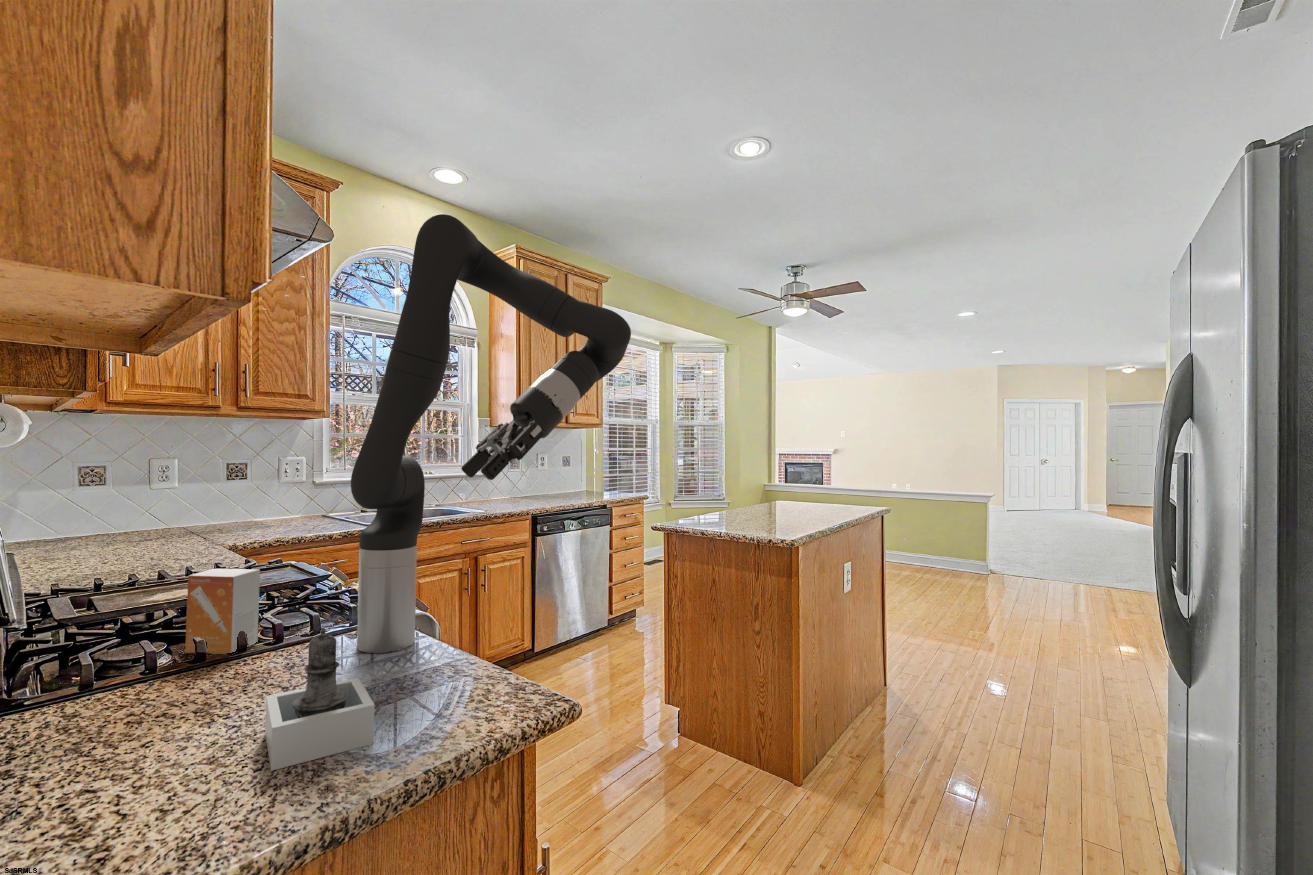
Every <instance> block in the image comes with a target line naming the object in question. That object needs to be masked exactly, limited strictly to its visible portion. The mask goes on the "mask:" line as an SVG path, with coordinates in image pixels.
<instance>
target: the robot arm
mask: <svg viewBox="0 0 1313 875" xmlns="http://www.w3.org/2000/svg"><path fill="white" fill-rule="evenodd" d="M413 249H414V250H413V257H412V263H411V270H410V275H409V276H410V277H409V283H408V288H407V293H406V297H405V300H404V303H403V307H402V310H401V314H400V316H399V321H398V324H397V329H396V332H395V336H394V338H393V342H392V346H391V349H390V352H389V356H388V360H387V363H386V368H385V372H384V377H383V381H382V384H381V387H380V392H379V395H378V397H377V401H376V405H375V408H374V412H373V415H372V418H371V421H370V424H369V427H368V430H367V432H366V435H365V437H364V439H363V442H362V445H361V447H360V449H359V453H358V455H357V458H356V460H355V463H354V466H353V468H352V473H351V477H350V490H351V492H350V493H351V494H352V495H351V496H352V498H353V499H354V500H355V503H356V504H357V505H358V506H360V507H362V508H364V509H366V510H376V514H375V517H374V518H373V520H372V522H371V523H370V524H369V525H367V526H366V527H365V528H364V529H362V531H361V532H360V534H359V545H358V546H359V547H358V549H359V550H358V586H357V588H358V590H357V594H358V595H357V625H356V626H357V627H356V649H357V650H358V651H360V652H362V653H367V654H368V653H369V654H382V653H384V654H385V653H391V652H390V651H392V652H396V650H397V651H399V649H400V650H404V649H407V648H409V647H410V645H411V646H413V645H414V644H415V638H416V637H415V636H416V610H417V609H416V606H417V605H416V600H417V597H416V596H417V564H418V563H417V561H418V560H417V558H418V557H417V554H418V553H417V550H418V545H417V544H418V536H419V534H420V531H421V528H422V525H423V518H424V517H423V516H424V507H425V506H424V504H425V490H426V489H425V487H426V486H425V484H426V483H425V476H424V472H423V468H422V466H421V465H420V463H419V462H418V461H417V460H416V459H414V458H413V457H411V456H409V455H404V453H405V449H406V447H407V446H406V445H407V443H408V440H409V438H410V435H411V433H412V431H413V429H414V427H415V426H416V424H417V423H418V422H419V420H420V419H421V418H422V416H424V414H425V413H426V411H427V410H428V408H429V407H430V406H431V405H432V403H433V402H434V400H435V399H436V397H437V396H438V394H439V392H440V389H441V387H442V383H443V380H444V377H445V372H446V369H447V364H448V362H449V357H450V351H451V350H450V348H451V347H450V346H451V334H450V333H451V330H450V329H451V328H450V327H451V325H450V322H451V321H450V314H451V313H450V310H451V303H452V297H453V294H454V291H455V288H456V285H457V284H456V283H457V281H459V282H463V283H465V284H467V285H471V286H474V287H476V288H478V289H481V290H483V291H485V292H487V293H489V294H491V295H493V296H494V297H496V298H498V299H500V300H501V301H503V302H504V303H506V304H508V305H509V306H510V307H512V308H514V309H515V310H517V311H518V312H520V313H521V314H523V316H526V317H528V318H529V319H531V320H532V321H534V322H535V323H537V324H539V325H541V326H542V327H544V328H545V329H547V330H549V331H551V332H552V333H555V334H556V335H558V336H560V337H562V338H570V337H571V336H573V335H574V334H577V335H581V336H584V337H585V338H587V340H586V342H585V343H584V344H583V346H581V347H580V348H579V349H578V350H570V351H569V352H567V353H566V354H564V355H563V356H562V357H561V358H560V359H558V361H556V363H555V364H554V365H553V366H552V367H550V368H549V369H548V370H547V371H546V372H545V373H543V374H542V375H540V376H539V377H538V378H537V379H536V380H535V381H534V382H532V384H531V385H529V386H528V388H526V389H525V390H524V391H523V392H522V393H521V394H520V395H519V396H518V397H517V398H516V399H515V400H514V401H513V402H512V403H511V404H510V408H509V410H510V413H511V415H512V421H510V422H507V421H506V422H505V423H504V424H503V423H502V422H501V423H499V424H497V426H495V428H494V429H493V430H492V431H491V432H490V433H489V434H488V435H487V436H485V437H484V439H482V440H481V441H480V442H479V443H477V444H476V446H475V449H476V452H475V454H474V455H472V456H471V457H470V458H469V459H468V460H467V461H466V462H465V463H464V464H463V465H462V466H461V471H462V473H464V474H465V475H466V476H467V477H468V478H474V476H475V475H476V474H478V473H479V472H481V474H482V475H483V476H484V478H486V479H487V480H489V481H493V480H495V478H496V477H497V476H498V475H499V474H500V473H501V472H502V471H503V470H504V469H505V468H506V467H507V466H508V465H509V464H512V463H514V462H515V461H516V460H517V461H520V460H522V459H523V458H524V457H525V456H526V455H527V454H528V453H529V451H530V450H532V448H533V447H534V446H535V445H536V444H537V443H538V442H539V441H540V439H545V438H547V437H548V436H549V435H550V434H551V432H553V430H554V429H555V428H556V427H558V425H559V424H560V423H562V421H563V420H564V419H565V418H566V417H567V416H568V415H569V414H570V413H571V411H573V409H574V408H575V406H576V405H577V404H578V402H579V401H580V400H581V399H582V398H583V397H584V396H585V395H586V393H588V392H589V391H590V390H591V388H593V386H594V385H595V383H597V382H598V381H600V380H601V379H603V378H604V377H606V376H607V375H608V374H609V373H610V372H612V371H613V370H614V369H615V368H616V367H618V365H619V364H620V363H621V361H622V360H623V358H624V357H625V354H626V352H627V349H628V345H629V344H630V341H631V336H632V331H631V327H630V324H629V323H628V321H627V320H626V319H625V318H624V317H622V316H621V315H620V314H619V313H617V312H615V311H614V310H612V309H608V308H607V307H606V308H605V307H602V306H600V305H597V304H596V305H595V304H594V303H591V302H590V303H589V302H586V301H582V300H578V299H577V298H575V297H574V296H572V295H570V294H569V293H567V292H565V291H564V290H562V289H560V288H558V287H557V286H555V285H553V284H551V283H549V282H547V281H545V280H544V279H541V278H540V277H536V275H533V274H530V273H527V272H526V271H523V270H521V269H519V268H517V267H515V266H513V265H512V264H510V263H508V262H507V261H506V260H504V259H502V258H500V256H498V255H496V253H494V252H493V251H492V250H491V249H489V248H488V247H487V246H485V244H483V243H482V242H481V241H480V240H479V239H478V237H477V236H476V234H474V232H473V231H472V230H471V229H470V228H468V226H467V225H465V223H463V222H462V221H461V220H460V219H458V218H457V217H455V216H453V215H451V214H447V213H437V214H435V215H433V216H430V217H429V218H428V219H426V220H425V221H424V222H423V223H422V225H421V227H420V228H419V230H418V233H417V235H416V239H415V243H414V248H413ZM488 448H490V449H489V450H488ZM408 646H409V647H408ZM403 648H404V649H403Z"/></svg>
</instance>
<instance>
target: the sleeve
mask: <svg viewBox="0 0 1313 875" xmlns="http://www.w3.org/2000/svg"><path fill="white" fill-rule="evenodd" d="M336 684H337V687H338V689H342V690H345V691H347V692H348V693H349V697H348V699H347V700H346V705H345V707H344V708H343V709H338V710H334V711H329V712H325V713H320V714H316V715H311V716H307V717H303V718H297V716H296V713H295V709H294V708H293V707H292V703H293V701H294V700H295V699H297V698H298V697H300V696H302V695H304V694H305V691H306V688H307V687H304V688H300V689H296V690H295V689H294V690H290V691H285V692H279V693H275V694H270V695H266V696H265V698H266V699H265V720H264V721H265V723H264V724H265V728H264V730H265V732H264V735H265V736H264V737H265V742H266V749H267V754H268V761H269V767H270V771H271V772H273V771H275V770H276V771H277V770H281V769H283V768H287V767H291V766H294V765H298V764H302V763H303V764H304V763H306V762H309V761H314V760H318V759H320V758H324V757H328V756H332V755H337V754H340V753H344V752H347V751H352V750H355V749H358V748H359V749H360V748H362V747H363V748H364V747H367V746H370V745H374V744H375V742H374V738H375V735H374V734H375V703H374V700H372V698H371V696H370V695H369V693H368V692H367V690H366V688H365V686H364V685H363V683H362V682H361V680H360V678H359V677H354V678H349V679H345V680H340V681H336Z"/></svg>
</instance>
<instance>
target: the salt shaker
mask: <svg viewBox="0 0 1313 875" xmlns="http://www.w3.org/2000/svg"><path fill="white" fill-rule="evenodd" d="M326 631H327V630H326V628H325V627H323V626H322V627H321V629H320V630H319V632H320V634H318V635H316V636H314V637H313V638H311V640H309V643H308V660H307V661H308V662H307V663H308V665H306V666H305V667H304V670H303V671H305V673H306V676H307V677H306V687H305V688H306V691H305V694H304V695H302V696H300V697H298V698H297V699H295V700H294V701H293V703H292V707H293V708H294V709H295V713H296V716H297V718H303V717H307V716H311V715H316V714H320V713H325V712H329V711H334V710H338V709H343V708H344V707H345V705H346V700H347V699H348V697H349V693H348V692H347V691H345V690H342V689H338V687H337V684H336V682H337V668H338V667H339V666H340V663H339V662H338V661H337V659H336V658H337V639H336V637H334V636H333V635H331V634H329V633H326Z"/></svg>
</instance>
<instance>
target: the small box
mask: <svg viewBox="0 0 1313 875" xmlns="http://www.w3.org/2000/svg"><path fill="white" fill-rule="evenodd" d="M260 575H261V569H259V568H257V569H256V568H255V569H249V568H248V569H246V568H213V569H208V570H204V571H199V572H196V573H193V574H190V575H188V576H187V578H188V579H187V596H186V598H187V600H186V602H187V603H186V622H185V623H186V624H185V649H184V650H185V651H184V652H185V653H186V654H196V653H195V644H194V642H193V637H200V638H201V639H204V640H205V641H206V642H207V647H208V651H209V653H210V655H214V654H215V655H227V654H226V653H232V652H235V651H236V649H237V637H238V634H239V632H240V631H244V632H245V633H246V634H247V638H248V644H249V645H250V646H249V647H251V645H252V646H254V645H255V643H256V642H257V643H258V639H259V637H258V636H259V610H260V609H259V604H260V577H261V576H260ZM257 643H256V644H257ZM209 653H208V654H209Z"/></svg>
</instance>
